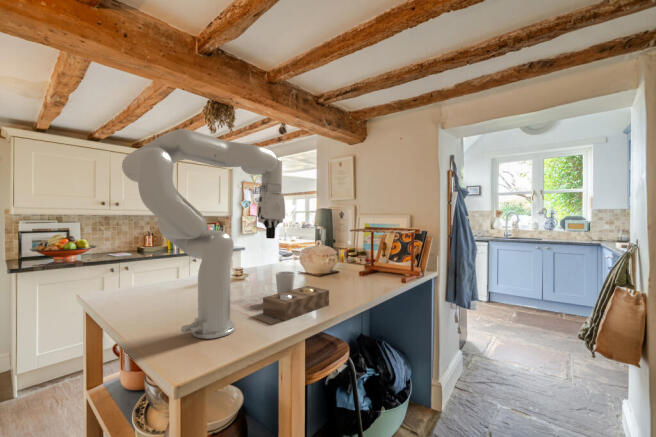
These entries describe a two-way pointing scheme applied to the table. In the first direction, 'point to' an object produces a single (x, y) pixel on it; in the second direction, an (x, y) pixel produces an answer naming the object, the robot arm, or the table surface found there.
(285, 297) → the steel peg
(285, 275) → the cup
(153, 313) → the table surface
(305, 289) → the brass peg
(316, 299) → the walnut block
